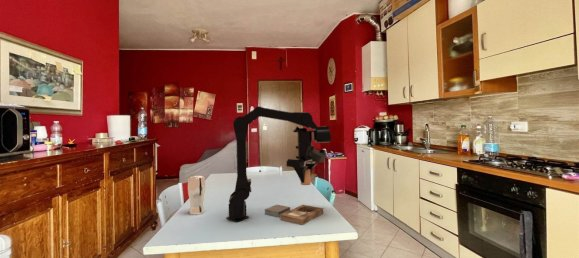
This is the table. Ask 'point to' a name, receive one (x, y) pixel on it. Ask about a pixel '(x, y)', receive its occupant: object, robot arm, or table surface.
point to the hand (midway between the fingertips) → (305, 181)
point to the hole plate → (301, 214)
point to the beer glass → (196, 194)
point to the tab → (276, 210)
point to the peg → (307, 178)
